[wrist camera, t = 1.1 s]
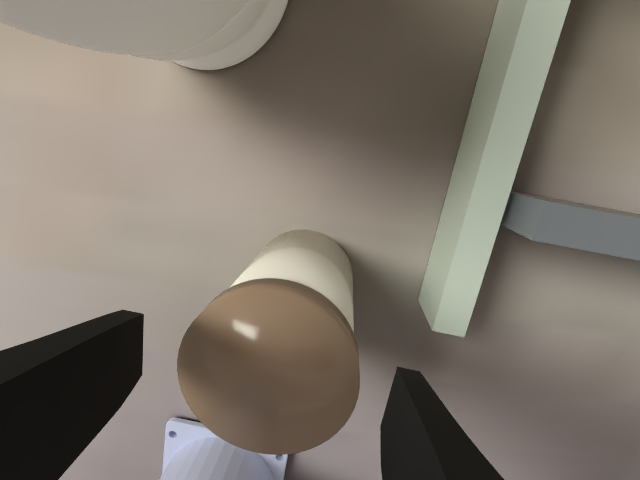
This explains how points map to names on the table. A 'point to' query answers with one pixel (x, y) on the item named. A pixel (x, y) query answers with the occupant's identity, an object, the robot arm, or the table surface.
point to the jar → (153, 27)
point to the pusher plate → (573, 225)
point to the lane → (489, 157)
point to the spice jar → (277, 350)
